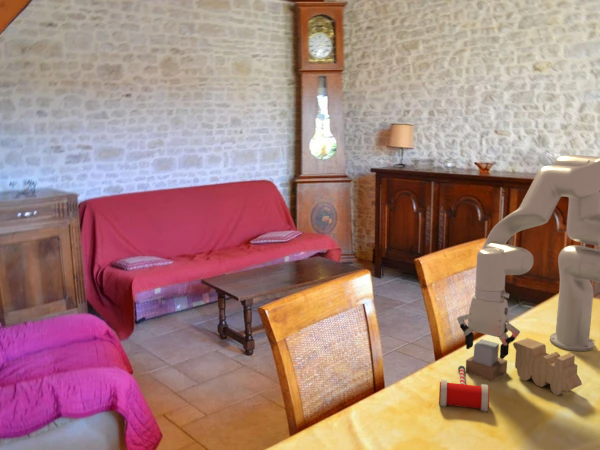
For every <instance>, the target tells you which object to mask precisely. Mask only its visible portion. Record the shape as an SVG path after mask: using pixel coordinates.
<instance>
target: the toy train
mask: <svg viewBox="0 0 600 450" xmlns="http://www.w3.org/2000/svg"><path fill="white" fill-rule="evenodd" d="M512 343H513V344H512V345H513V348H514V350H515V362H514V367H515V369H516V373H517V376H518V378H520V379H521V380H523V381H529V380H530V379H531V380H532V381H533V383H534V384H535V385H536V386H538V387H541V388H542V387H545V386H547V385H550V387H549V388H550V390H551V392H552V393H553V394H554V395H555V396H556V395H557V396H560V395H561V394H562V395H563V394H564V393H566V392H569V391H572V390H574V389H575V388H578V387H581V386H582V381H581V379H580V377H579V375H578V364H576V363H575V360H576V359H575V358H576V355H575V354H573V353H570V352H569V353H566V354H563V355H561V354H560V353H559V352H558V351H557V352H556V351H554V352H552V353H548V352H547V347H546V344H545V343H542V342H540V341H537V340H535V339H531V338H529V337H526V338H524V339H521V340H518V341H516V342H515V341H514V342H512Z"/></svg>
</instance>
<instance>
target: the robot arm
mask: <svg viewBox="0 0 600 450" xmlns="http://www.w3.org/2000/svg"><path fill="white" fill-rule="evenodd" d="M562 197H566V198H568V205H567V206H568V209H567V218H566V235H567V237H568V238H569V239H571V240H572V241H575V242H578V243H581V244H587V245H593V246H597V247H598V249H596V248H593V247H588V246H583V245H577V244H572V245H567V246H565V247H563V248H562V249H561V250H560V252H559V254H558V258H557V259H558V260H557V263H558V264H557V265H558V272H559V289H558V291H559V293H558V299H557V300H558V302H557V311H556V313H557V314H556V315H557V316H556V325H555V327H556V328H555V333H552V334H550V336H549V341H550V343H551V344H553V345H554V346H556V347H558V348H561V349H563V350H567V351H573V352H574V351H576V352H587V351H591V350H593V349H594V348H595V341H594V340H593V339H592V338H590V335H591V334H590V332H591V325H592V324H591V323H592V312H593V301H594V288H593V285H592V282H595V283H599V284H600V156H595V155H594V156H592V155H583V154H582V155H581V154H575V155H574V154H565V155H561V156H558V157H557V158H556V159H555V161H554V164H550V165H545V166H543V167H541V168H540V169H539V170H538V171H537V173H536V175H535V176H534V179H533V180H532V182H531V184H530V186H529V188H528V190H527V192H526V194H525V196H524V197H523V199H522V202H521V203H520V205H519V207H518V208H517V209H516V210H514V211H512V212H511V213H509V214H508V215H506V216H505V217H503V219H501V220H499V222H497V223H496V224H495V225H494V226H493V227H492V229H491V230H490V232H489V234H488V235H487V238H486V239H485V241H484V244H483V246H482V248H481V249H479V251H478V252H477V253H476V269H475V285H474V289H475V290H474V294H473V296H472V298H471V302H470V304H469V305H470V306H469V311H468V313H467V314H463V315H459V316H458V317H457V318H456V320H457V322H458V324H459V328H460V329H461V330H462V331H463V334H464V337H465V338H464V339H465V340H464V341H465V342H464V344H465V349H466V350H469V349H471V348H473V347H474V336H475V335H474V333H473V332H476V333H480V334H484V335H487V336H491V337H495V338H498V339H499V340H500V342H501V344H500V346H499V348H500V351H499V358H501V359H505V357H507V356H508V354H509V348H510V347H509V346H510V344H511V343H513V342H515V340H516V339H517V337H519V336H520V335H519V334H521V331H520V330H519V329H518V328H516V327H515V326H514V325H513V324H511V322H510V319H509V318H510V315H509V305H508V300H507V299H509V298H510V293H508V292H506V289H505V287H506V276H520V275H524V274H527V273H528V272H529V271H531V269H532V267H533V266H534V255H533V254H532V252H530V251H529V250H528V249H526V248H523V247H519V246H515V245H511V244H509V243H507V242H508V241H509V239H510V238H511V237H513V236H514V235H515V234H517V233H519V232H521V231H525V230H527V229H532V228H535V227H539V226H543V225H545V224H547V223H548V222H550V221H549V220H550V219H551V217H552V215H553V212H554V210H555V209H556V207H557V206H558V203H559V201H560V200H561V198H562ZM466 320H467V323H466V322H465V321H466ZM508 332H511V335H510V336H509V335H508V334H507V333H508Z"/></svg>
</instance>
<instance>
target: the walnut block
mask: <svg viewBox="0 0 600 450" xmlns="http://www.w3.org/2000/svg"><path fill="white" fill-rule="evenodd" d="M507 369H508V360H507V359H505V358H503V359H501V358H500V357H498V361H497V362H496V363H494V364H493V365H492V366H487V365H484V364H480V363H477V362H474V355H473V356H471V357H469V358H467V359H466V360H465V373H467V374H469V375H472V376H474V377H475V376H476V377H478V378H481V379H483V380H486V381H487V382H488V381H489V382H492V383H493V382H494V381H495V380H497V379H498V378H501V377H502V376H503V375H505V374H507Z"/></svg>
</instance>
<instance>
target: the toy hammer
mask: <svg viewBox="0 0 600 450" xmlns="http://www.w3.org/2000/svg"><path fill="white" fill-rule="evenodd" d="M457 370H458V373H459V383H455V382H448V380H446V379H441V380H440V381H439V394H438V397H439V398H438V404H439V407H445V408H446V407H447V405H448V406H455V407H461V408H462V407H464V408H471V409H477V410H478V409H480V412H486V413H487V412H488V411H489V408H490V387H489V385H488V384H484V383H481V385H471V384H466V377H465V375H466V374H465V373H466V366H464V365H458V368H457Z"/></svg>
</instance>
